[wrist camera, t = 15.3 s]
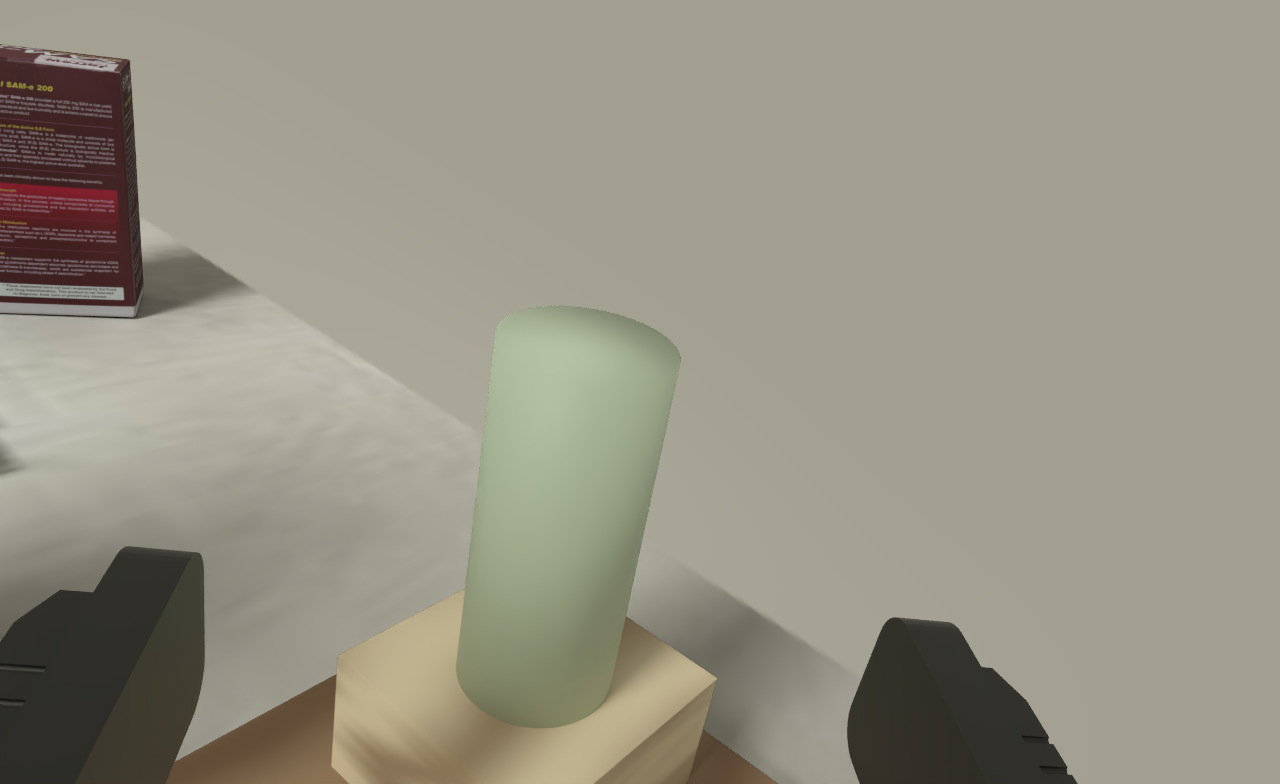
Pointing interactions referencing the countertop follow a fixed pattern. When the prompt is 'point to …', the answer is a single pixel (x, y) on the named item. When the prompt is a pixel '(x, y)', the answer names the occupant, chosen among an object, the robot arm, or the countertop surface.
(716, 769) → the walnut board
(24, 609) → the countertop surface
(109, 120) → the supplement box
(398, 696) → the beech brick
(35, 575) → the countertop surface
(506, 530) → the sage cylinder
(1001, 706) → the robot arm
